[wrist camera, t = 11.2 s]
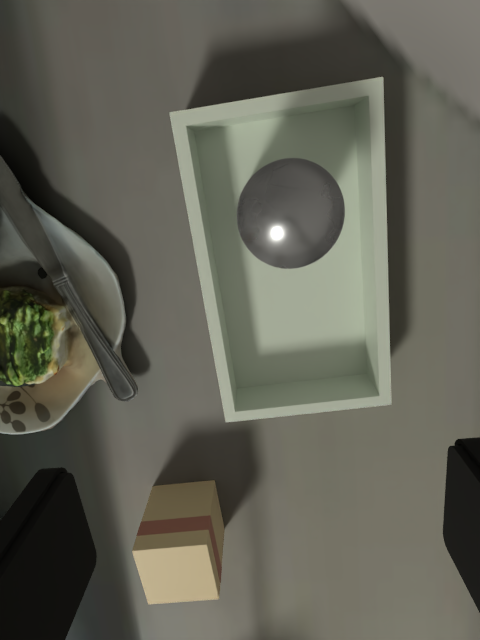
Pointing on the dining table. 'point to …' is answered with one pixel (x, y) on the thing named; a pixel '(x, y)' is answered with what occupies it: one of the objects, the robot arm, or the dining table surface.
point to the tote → (299, 283)
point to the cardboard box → (181, 543)
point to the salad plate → (53, 316)
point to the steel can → (290, 213)
